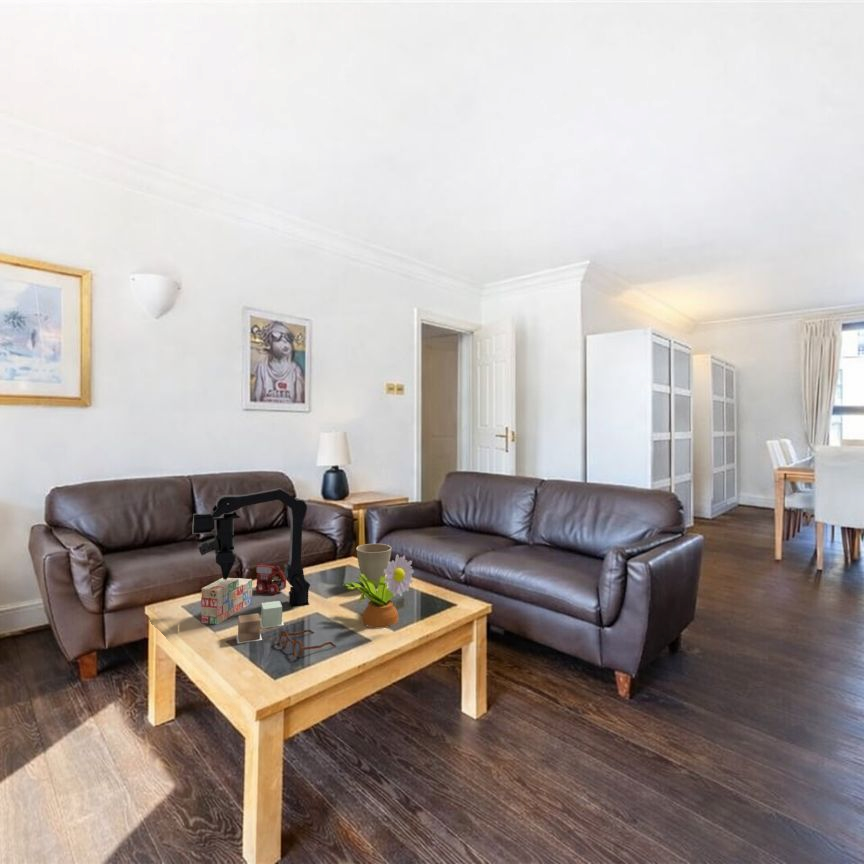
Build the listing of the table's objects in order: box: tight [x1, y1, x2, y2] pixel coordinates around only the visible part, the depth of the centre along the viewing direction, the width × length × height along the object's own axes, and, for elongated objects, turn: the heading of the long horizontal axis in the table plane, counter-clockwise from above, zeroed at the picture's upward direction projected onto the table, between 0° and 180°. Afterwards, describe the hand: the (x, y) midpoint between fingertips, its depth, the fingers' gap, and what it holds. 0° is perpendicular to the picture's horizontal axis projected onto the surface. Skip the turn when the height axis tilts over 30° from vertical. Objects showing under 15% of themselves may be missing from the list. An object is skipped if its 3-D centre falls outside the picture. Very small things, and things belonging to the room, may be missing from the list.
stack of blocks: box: [200, 577, 253, 626], centre depth 175 cm, size 21×6×12 cm, turn 169°
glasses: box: [278, 629, 337, 659], centre depth 152 cm, size 13×13×5 cm
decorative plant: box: [342, 553, 414, 628], centre depth 175 cm, size 27×24×25 cm
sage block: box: [260, 600, 283, 628], centre depth 167 cm, size 6×6×6 cm
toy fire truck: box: [255, 564, 287, 595], centre depth 199 cm, size 7×12×10 cm, turn 82°
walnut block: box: [237, 612, 261, 643], centre depth 156 cm, size 6×6×6 cm
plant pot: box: [356, 543, 392, 588], centre depth 210 cm, size 15×15×16 cm
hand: (224, 575), depth 173 cm, fingers open, 9 cm apart
